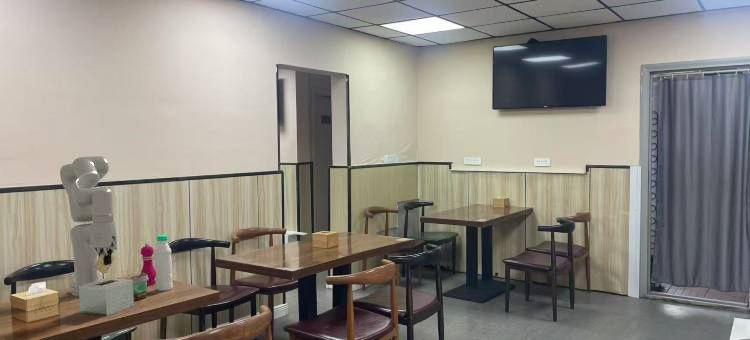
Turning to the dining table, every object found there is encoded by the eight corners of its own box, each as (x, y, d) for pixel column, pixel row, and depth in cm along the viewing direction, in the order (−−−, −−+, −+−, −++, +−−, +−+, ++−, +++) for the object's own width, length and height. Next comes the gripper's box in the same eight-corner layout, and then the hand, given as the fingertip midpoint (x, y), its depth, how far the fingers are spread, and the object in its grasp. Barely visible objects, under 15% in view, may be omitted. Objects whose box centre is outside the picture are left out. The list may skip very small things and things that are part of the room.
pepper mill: (151, 281, 281) (150, 241, 280) (159, 283, 276) (157, 242, 275) (137, 284, 275) (135, 243, 274) (145, 286, 271) (143, 244, 270)
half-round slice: (138, 302, 243) (137, 279, 242) (125, 302, 244) (124, 279, 243) (155, 295, 255) (154, 272, 254) (142, 294, 256) (141, 272, 256)
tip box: (80, 312, 230) (79, 285, 229) (108, 303, 243) (107, 277, 242) (106, 315, 225) (105, 288, 224) (133, 306, 238) (132, 279, 237)
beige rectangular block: (93, 267, 229) (102, 251, 233) (101, 272, 233) (109, 257, 237) (98, 267, 228) (106, 251, 232) (106, 273, 232) (114, 257, 236)
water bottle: (174, 287, 268) (172, 234, 267) (170, 291, 261) (167, 236, 260) (159, 287, 268) (157, 234, 267) (154, 291, 261) (151, 237, 260)
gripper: (80, 220, 232) (82, 265, 232) (110, 221, 226) (112, 267, 227) (95, 217, 239) (98, 261, 239) (125, 218, 233) (127, 263, 234)
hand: (105, 264), depth 233 cm, fingers closed on beige rectangular block, 2 cm apart
